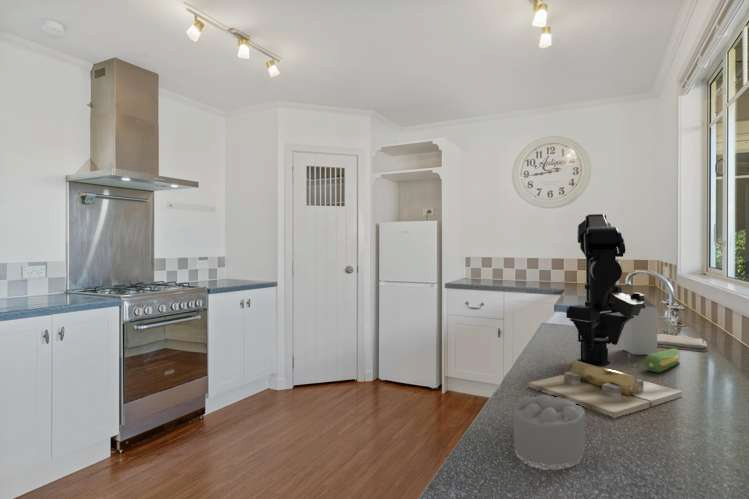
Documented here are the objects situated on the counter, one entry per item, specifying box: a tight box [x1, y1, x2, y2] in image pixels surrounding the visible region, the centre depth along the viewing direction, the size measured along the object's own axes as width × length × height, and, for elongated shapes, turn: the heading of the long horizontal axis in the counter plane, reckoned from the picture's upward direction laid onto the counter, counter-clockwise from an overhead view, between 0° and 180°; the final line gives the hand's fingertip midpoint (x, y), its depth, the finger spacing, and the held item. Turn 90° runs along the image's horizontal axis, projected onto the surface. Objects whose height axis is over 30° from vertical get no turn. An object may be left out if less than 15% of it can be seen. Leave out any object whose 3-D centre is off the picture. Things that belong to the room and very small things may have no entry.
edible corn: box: [644, 348, 680, 373], centre depth 123 cm, size 5×20×5 cm
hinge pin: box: [570, 360, 638, 396], centre depth 103 cm, size 14×4×4 cm, turn 28°
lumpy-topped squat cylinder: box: [513, 393, 586, 464], centre depth 74 cm, size 10×13×9 cm
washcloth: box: [657, 333, 709, 353], centre depth 148 cm, size 12×18×3 cm, turn 56°
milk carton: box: [622, 291, 658, 356], centre depth 139 cm, size 7×7×19 cm
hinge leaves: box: [528, 371, 683, 419], centre depth 103 cm, size 22×25×4 cm
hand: (602, 346), depth 103 cm, fingers open, 9 cm apart
